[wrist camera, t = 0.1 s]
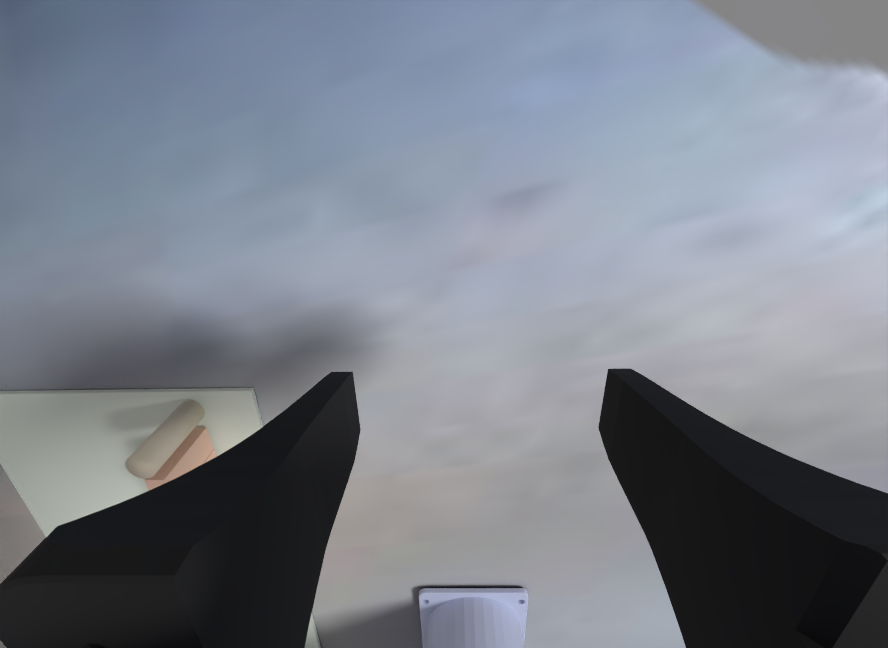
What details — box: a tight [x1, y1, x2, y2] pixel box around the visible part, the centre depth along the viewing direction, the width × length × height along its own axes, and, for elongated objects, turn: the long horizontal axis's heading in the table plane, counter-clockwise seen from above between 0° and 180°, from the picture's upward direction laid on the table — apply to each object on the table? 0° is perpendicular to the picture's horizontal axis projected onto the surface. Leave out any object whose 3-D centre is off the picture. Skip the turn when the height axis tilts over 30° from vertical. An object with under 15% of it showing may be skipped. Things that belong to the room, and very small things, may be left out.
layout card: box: [0, 388, 321, 648], centre depth 30 cm, size 27×17×1 cm, turn 2°
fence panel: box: [125, 401, 217, 490], centre depth 24 cm, size 12×1×5 cm, turn 2°
